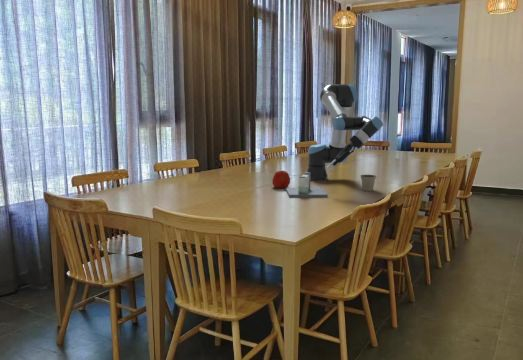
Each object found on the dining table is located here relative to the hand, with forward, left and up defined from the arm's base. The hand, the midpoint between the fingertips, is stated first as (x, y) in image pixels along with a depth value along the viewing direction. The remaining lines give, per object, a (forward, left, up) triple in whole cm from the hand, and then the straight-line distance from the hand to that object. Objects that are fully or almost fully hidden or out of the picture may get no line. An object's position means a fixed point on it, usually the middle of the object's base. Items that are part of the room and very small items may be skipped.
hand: (328, 168), depth 253 cm
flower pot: (-12, +26, -15) cm, 32 cm away
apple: (-21, -25, -15) cm, 36 cm away
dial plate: (-2, -12, -14) cm, 19 cm away
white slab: (-3, -13, -12) cm, 18 cm away
